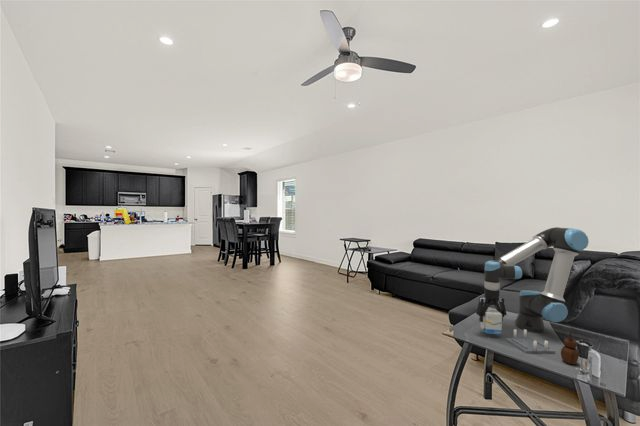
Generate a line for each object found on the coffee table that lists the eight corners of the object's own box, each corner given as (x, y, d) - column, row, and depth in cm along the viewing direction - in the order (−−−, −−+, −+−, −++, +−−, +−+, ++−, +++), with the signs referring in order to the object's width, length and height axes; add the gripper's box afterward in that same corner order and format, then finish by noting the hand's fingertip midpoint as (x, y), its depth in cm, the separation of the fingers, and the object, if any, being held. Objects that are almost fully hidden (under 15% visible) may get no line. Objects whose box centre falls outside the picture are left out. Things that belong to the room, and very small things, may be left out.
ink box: (502, 334, 159) (502, 314, 158) (485, 333, 160) (486, 312, 160) (495, 328, 167) (496, 308, 167) (480, 327, 169) (480, 307, 169)
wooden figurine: (572, 366, 132) (574, 335, 132) (558, 360, 138) (559, 330, 137) (580, 364, 135) (582, 333, 135) (566, 358, 140) (567, 328, 140)
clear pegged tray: (532, 340, 159) (532, 329, 159) (556, 353, 144) (556, 341, 144) (505, 340, 158) (505, 329, 158) (526, 353, 143) (527, 341, 143)
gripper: (505, 286, 168) (504, 324, 168) (469, 287, 166) (468, 324, 167) (514, 290, 160) (514, 329, 161) (477, 290, 159) (476, 330, 159)
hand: (491, 327), depth 164 cm, fingers closed on ink box, 9 cm apart
